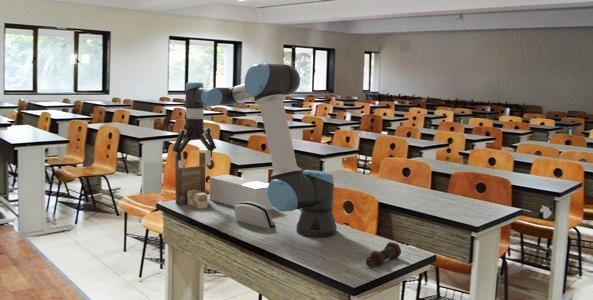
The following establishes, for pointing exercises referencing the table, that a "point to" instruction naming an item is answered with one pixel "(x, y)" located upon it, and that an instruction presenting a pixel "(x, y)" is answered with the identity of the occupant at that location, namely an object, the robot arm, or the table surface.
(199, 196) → the tan wooden block
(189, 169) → the wooden cleated plank
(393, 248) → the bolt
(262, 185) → the white ribbed block
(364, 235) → the table surface
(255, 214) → the white rounded block
